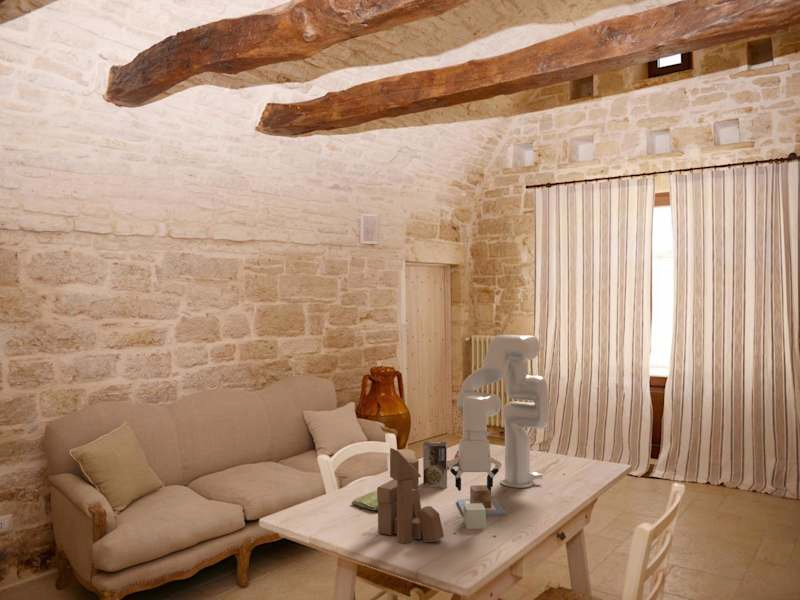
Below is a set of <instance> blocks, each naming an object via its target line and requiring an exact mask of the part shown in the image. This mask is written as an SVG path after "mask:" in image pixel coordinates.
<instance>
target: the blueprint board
mask: <svg viewBox="0 0 800 600" xmlns="http://www.w3.org/2000/svg"><path fill="white" fill-rule="evenodd" d="M456 503H457V505H458V508H459V509H460V511H461V514H462V515H463V517H464V504H470V498H460V499H459V498H458V499H456ZM485 509H486V517H487V516H506V510H505V509H504V508H503V507H502V505H501V504H500V502H499V501H498V499H497V498H496V497H495V498H493V497H492V498H491V508H485Z"/></svg>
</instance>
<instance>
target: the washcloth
mask: <svg viewBox="0 0 800 600" xmlns="http://www.w3.org/2000/svg"><path fill="white" fill-rule="evenodd" d="M351 505H353V506H356V505H357V506H356V507H359V506H360V507H359V508H363V509H366V508H367V510H372V511H374V510H375V512H377V513H378V502H377V490H372V491H371V492H368V493H367V494H364V495H360V496H357V497H356V498H355V499H353V500H352V501H351Z"/></svg>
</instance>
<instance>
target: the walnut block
mask: <svg viewBox="0 0 800 600" xmlns="http://www.w3.org/2000/svg"><path fill="white" fill-rule="evenodd" d="M469 490H470V491H469V493H470V494H469V496H470V498H469V499H470V503H482V504H483V506H484V507H485V508H491V499H492V489H491V490H488V488H487V484H485V485H484V484H481V485H479V484H478V485H477V484H476V485H470V487H469Z"/></svg>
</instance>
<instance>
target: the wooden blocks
mask: <svg viewBox="0 0 800 600" xmlns="http://www.w3.org/2000/svg"><path fill="white" fill-rule="evenodd" d="M389 450H390V451H389V470H390V471H389V477H390V478H392V479H391V480H389V481H387V482H385V483H383V484H381V485H379V486H377V487H376V491H377V502H378V512H377V513H378V514H377V532H378V533H379V534H383V535H388V536H392V535H393V534H394V535H396V540H397V542H399V543H400V544H401V543H402V544H408V543H411V542H412V541H413V539H417V540H422V539H423V542H424V543H437V542H438V541H440V540H441V539H443V538H444V537H445V534H444V529H443V525H442V520H441V516H440V513H439V512H438V511H437V510H436V509H435V508H434V507H433V506H431V505H427V506H424V507H422V505H421V487H419V485H420V484H419V478H421V476H422V474H420V472H419V467H420V466H419V462H420V461H419V459H415V458H409V457H404V455H402V453H401V452H400V451H399V450H397V449H394V448H392V447H390V449H389Z"/></svg>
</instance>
